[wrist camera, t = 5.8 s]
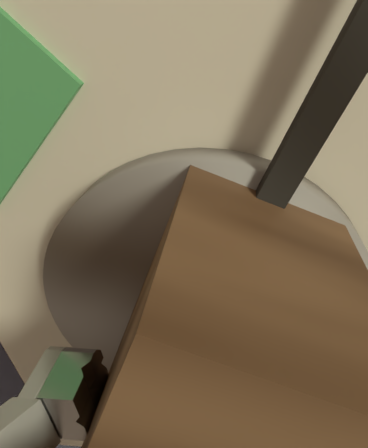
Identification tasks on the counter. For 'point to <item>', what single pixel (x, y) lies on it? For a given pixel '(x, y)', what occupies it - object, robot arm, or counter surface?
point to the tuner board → (148, 114)
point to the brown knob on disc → (223, 289)
